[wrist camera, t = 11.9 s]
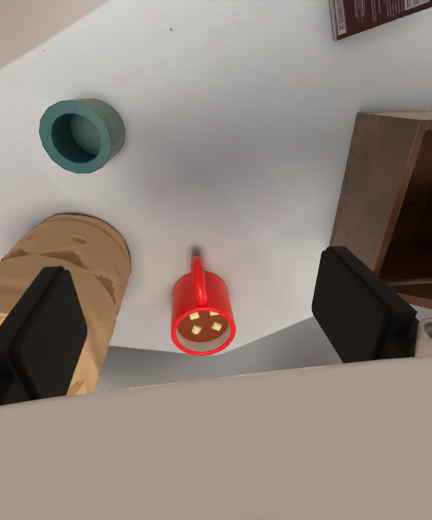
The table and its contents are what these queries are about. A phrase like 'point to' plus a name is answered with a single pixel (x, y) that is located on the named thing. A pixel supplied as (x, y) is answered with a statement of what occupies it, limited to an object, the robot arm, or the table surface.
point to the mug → (201, 312)
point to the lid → (415, 294)
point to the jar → (81, 134)
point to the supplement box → (369, 14)
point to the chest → (389, 196)
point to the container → (74, 280)
